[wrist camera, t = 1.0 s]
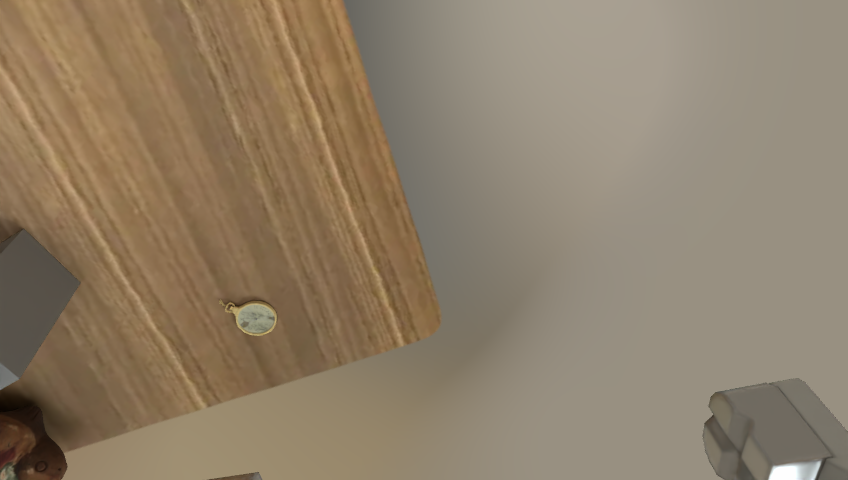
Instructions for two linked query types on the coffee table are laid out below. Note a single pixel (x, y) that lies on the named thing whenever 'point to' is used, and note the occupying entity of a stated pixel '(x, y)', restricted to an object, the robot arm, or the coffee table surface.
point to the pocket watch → (254, 317)
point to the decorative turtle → (28, 447)
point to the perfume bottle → (28, 301)
